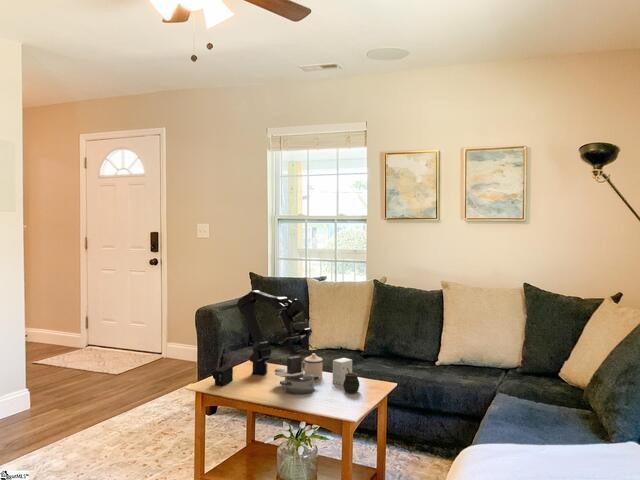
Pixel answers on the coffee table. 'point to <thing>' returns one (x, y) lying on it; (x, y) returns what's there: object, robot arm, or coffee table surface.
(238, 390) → the coffee table surface
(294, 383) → the pot
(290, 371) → the lid
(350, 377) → the mate gourd
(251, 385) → the coffee table surface
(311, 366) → the teacup with lid
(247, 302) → the robot arm
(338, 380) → the small box
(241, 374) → the coffee table surface
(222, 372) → the digital camera
